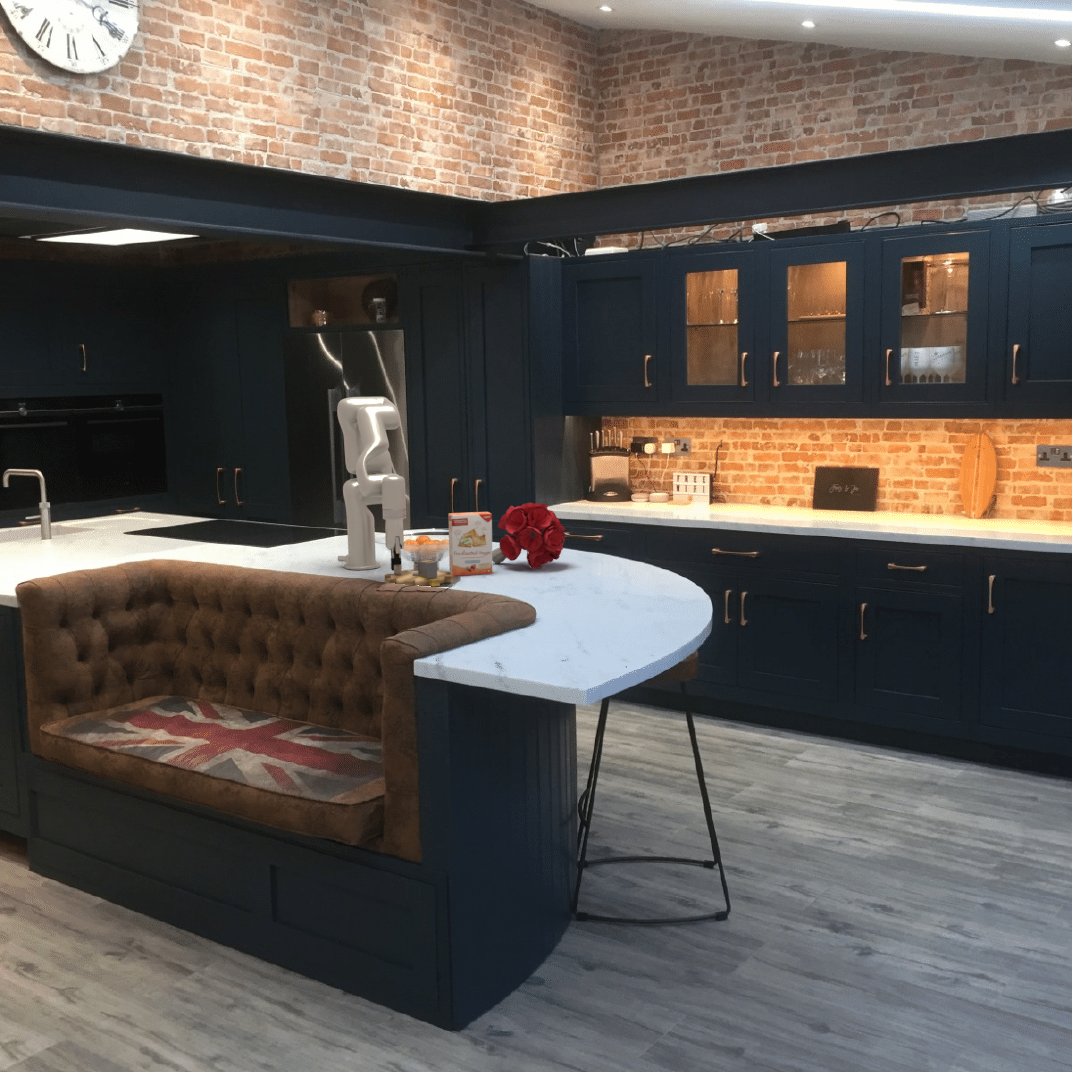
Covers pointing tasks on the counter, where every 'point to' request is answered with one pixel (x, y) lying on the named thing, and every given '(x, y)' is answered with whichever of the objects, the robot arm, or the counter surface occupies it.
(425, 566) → the grey small block
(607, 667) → the counter surface
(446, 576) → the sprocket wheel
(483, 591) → the counter surface
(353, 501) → the robot arm
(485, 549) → the cracker box
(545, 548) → the bouquet
